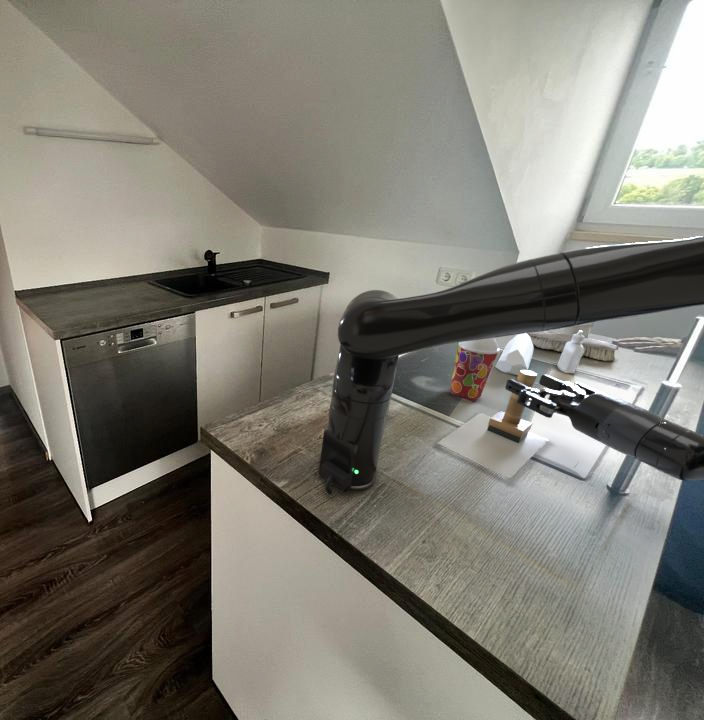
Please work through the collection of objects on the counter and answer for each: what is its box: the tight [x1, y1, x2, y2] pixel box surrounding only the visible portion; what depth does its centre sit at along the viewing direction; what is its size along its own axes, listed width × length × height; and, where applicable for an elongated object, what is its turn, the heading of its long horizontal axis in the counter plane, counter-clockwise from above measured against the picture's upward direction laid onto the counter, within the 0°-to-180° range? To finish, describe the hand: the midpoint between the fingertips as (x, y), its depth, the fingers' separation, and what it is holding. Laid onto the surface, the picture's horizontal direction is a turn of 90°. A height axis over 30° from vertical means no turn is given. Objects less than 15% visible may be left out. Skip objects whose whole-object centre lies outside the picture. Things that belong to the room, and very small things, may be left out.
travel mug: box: [557, 323, 595, 338], centre depth 132 cm, size 8×8×18 cm
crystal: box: [494, 333, 535, 376], centre depth 117 cm, size 7×7×24 cm
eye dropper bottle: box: [556, 331, 584, 374], centre depth 110 cm, size 4×6×12 cm
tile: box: [436, 412, 550, 480], centre depth 79 cm, size 20×13×1 cm, turn 126°
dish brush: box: [487, 369, 538, 443], centre depth 78 cm, size 5×6×14 cm
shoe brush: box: [527, 331, 619, 362], centre depth 125 cm, size 24×8×5 cm, turn 52°
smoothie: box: [449, 338, 500, 402], centre depth 94 cm, size 8×8×20 cm
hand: (524, 381), depth 77 cm, fingers open, 8 cm apart
